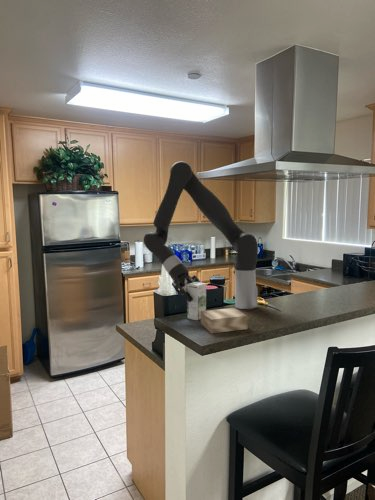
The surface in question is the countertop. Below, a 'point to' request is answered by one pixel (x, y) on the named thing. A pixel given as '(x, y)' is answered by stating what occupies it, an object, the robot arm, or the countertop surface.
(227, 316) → the riser block
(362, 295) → the countertop surface
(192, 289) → the syrup box
